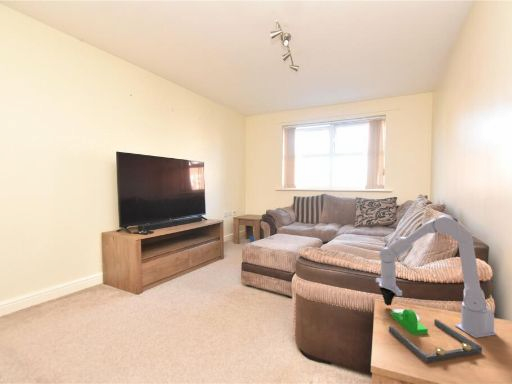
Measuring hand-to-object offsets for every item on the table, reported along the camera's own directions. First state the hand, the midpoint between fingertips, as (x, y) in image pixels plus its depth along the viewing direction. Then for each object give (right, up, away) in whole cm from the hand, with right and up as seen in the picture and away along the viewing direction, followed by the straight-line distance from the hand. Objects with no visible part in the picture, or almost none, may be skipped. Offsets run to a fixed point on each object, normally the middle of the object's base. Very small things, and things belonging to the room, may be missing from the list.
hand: (388, 304), depth 114 cm
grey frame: (+3, -3, -23) cm, 24 cm away
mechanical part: (+1, -3, -13) cm, 14 cm away
